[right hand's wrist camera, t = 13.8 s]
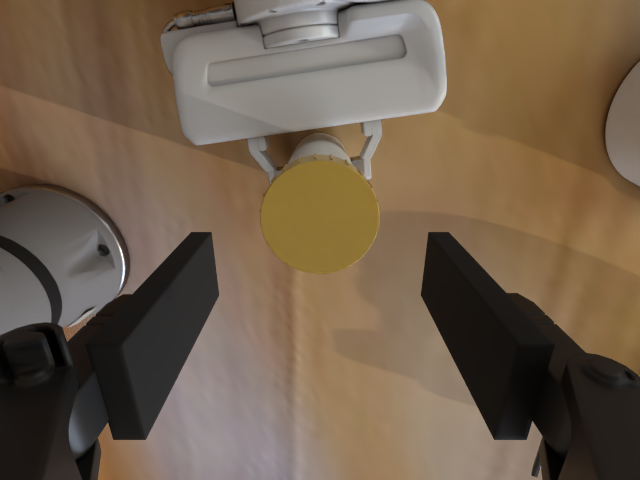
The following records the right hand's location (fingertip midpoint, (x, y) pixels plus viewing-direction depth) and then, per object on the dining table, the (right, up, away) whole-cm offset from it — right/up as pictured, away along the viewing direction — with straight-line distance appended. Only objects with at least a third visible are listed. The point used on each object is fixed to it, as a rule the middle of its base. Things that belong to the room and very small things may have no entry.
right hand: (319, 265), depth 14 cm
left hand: (0, +6, +17) cm, 18 cm away
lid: (0, +2, +5) cm, 6 cm away
